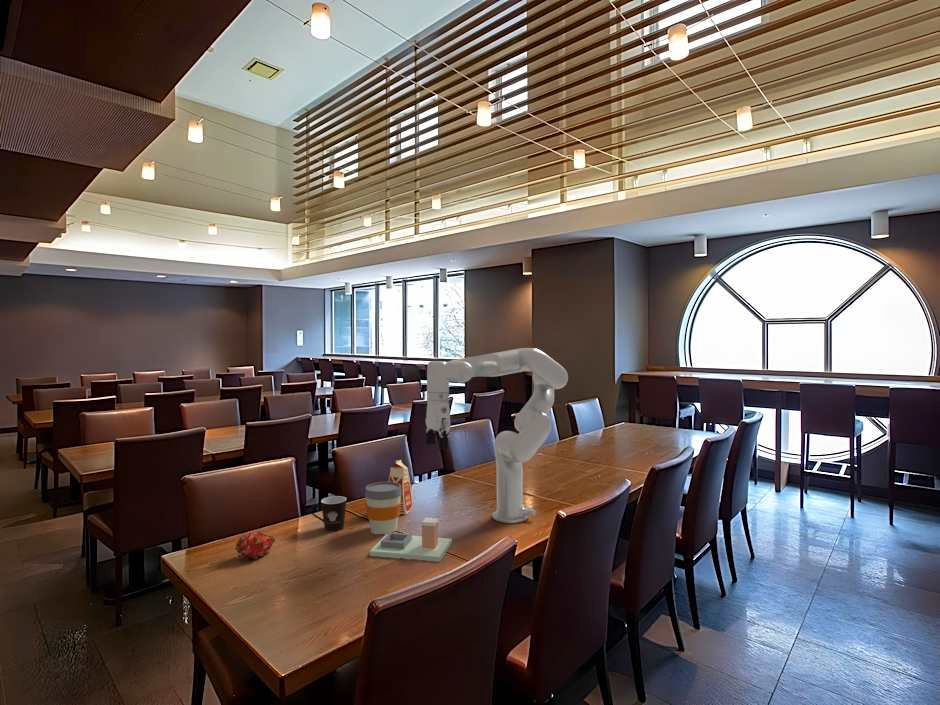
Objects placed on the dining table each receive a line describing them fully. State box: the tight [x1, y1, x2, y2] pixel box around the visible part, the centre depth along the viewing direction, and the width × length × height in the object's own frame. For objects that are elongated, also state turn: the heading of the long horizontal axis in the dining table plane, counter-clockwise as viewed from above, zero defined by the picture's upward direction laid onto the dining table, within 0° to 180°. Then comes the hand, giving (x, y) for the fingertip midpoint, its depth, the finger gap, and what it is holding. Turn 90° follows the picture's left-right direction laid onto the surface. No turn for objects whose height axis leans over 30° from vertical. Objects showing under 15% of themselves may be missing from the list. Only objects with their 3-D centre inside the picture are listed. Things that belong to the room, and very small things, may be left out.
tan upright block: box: [421, 517, 439, 549], centre depth 156 cm, size 4×4×8 cm
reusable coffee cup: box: [364, 481, 402, 535], centre depth 174 cm, size 13×12×15 cm
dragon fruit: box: [234, 530, 276, 560], centre depth 153 cm, size 8×8×12 cm
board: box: [369, 532, 453, 563], centre depth 157 cm, size 22×14×3 cm, turn 78°
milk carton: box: [387, 459, 414, 515], centre depth 194 cm, size 9×9×20 cm
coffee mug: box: [309, 495, 348, 533], centre depth 176 cm, size 12×9×10 cm
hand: (436, 446), depth 173 cm, fingers open, 9 cm apart
